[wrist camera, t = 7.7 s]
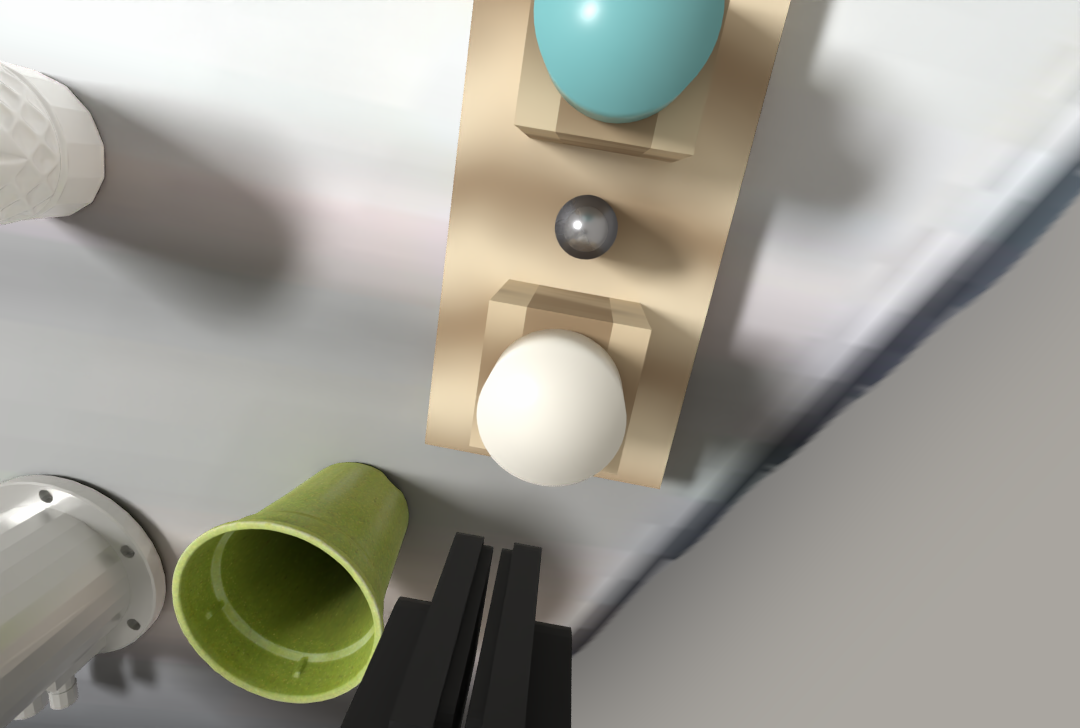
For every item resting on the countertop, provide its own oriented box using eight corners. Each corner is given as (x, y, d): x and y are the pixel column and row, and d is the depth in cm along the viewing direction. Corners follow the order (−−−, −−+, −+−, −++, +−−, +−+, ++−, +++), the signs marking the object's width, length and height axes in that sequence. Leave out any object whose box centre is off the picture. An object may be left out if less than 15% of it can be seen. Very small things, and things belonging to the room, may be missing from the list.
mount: (655, 469, 29) (673, 551, 23) (435, 427, 30) (390, 496, 23) (794, -61, 22) (883, -172, 15) (497, -108, 22) (456, -236, 15)
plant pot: (288, 568, 33) (188, 692, 25) (270, 427, 31) (151, 514, 22) (438, 582, 33) (386, 714, 25) (434, 439, 30) (375, 533, 22)
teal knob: (663, 147, 22) (697, 126, 15) (542, 126, 22) (520, 97, 15) (694, 7, 21) (748, -89, 14) (564, -14, 21) (550, -119, 14)
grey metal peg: (608, 256, 24) (611, 268, 20) (554, 246, 24) (547, 256, 20) (620, 199, 23) (625, 201, 20) (564, 189, 23) (559, 189, 20)
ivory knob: (604, 414, 26) (609, 498, 19) (501, 394, 26) (468, 471, 19) (626, 313, 25) (641, 363, 17) (517, 293, 25) (486, 334, 18)
